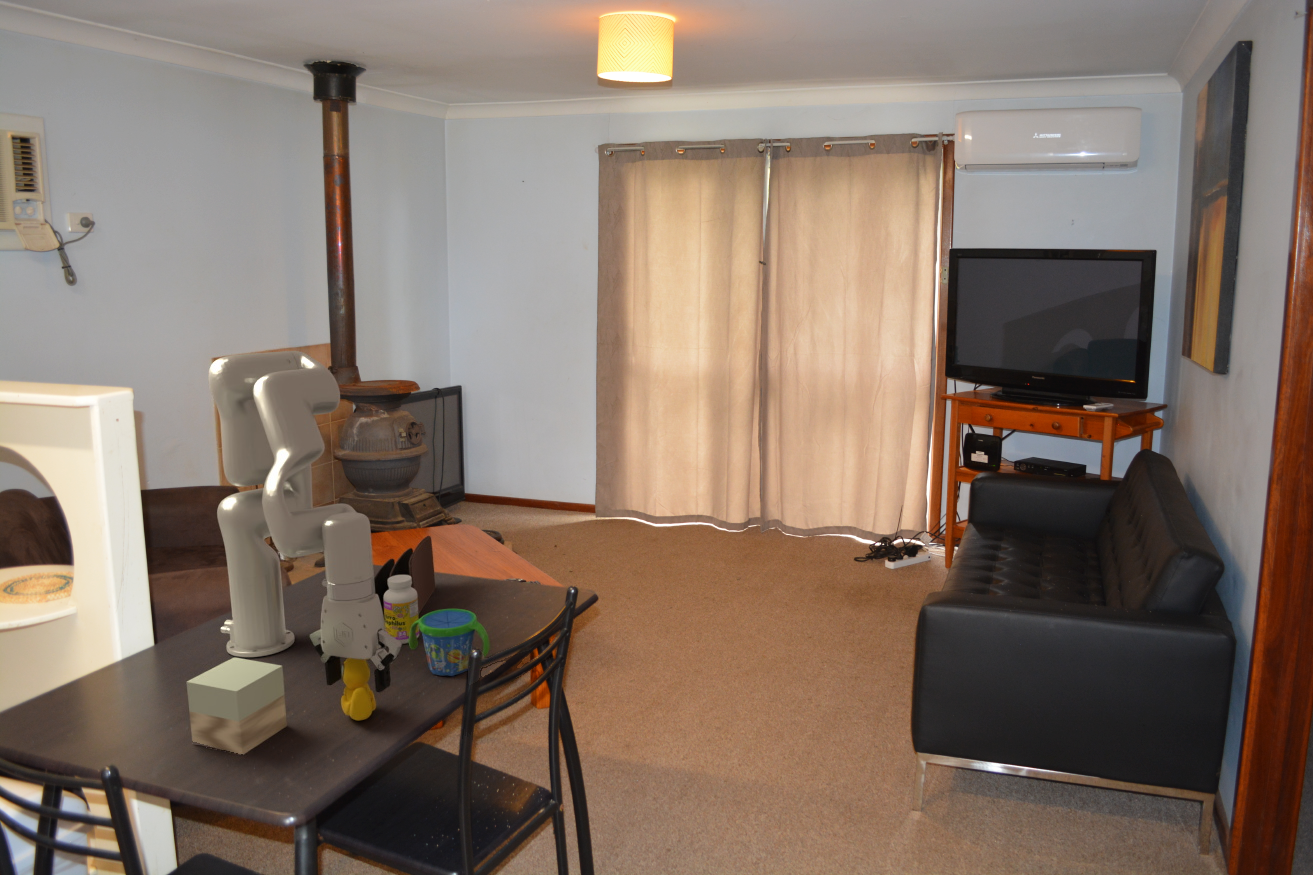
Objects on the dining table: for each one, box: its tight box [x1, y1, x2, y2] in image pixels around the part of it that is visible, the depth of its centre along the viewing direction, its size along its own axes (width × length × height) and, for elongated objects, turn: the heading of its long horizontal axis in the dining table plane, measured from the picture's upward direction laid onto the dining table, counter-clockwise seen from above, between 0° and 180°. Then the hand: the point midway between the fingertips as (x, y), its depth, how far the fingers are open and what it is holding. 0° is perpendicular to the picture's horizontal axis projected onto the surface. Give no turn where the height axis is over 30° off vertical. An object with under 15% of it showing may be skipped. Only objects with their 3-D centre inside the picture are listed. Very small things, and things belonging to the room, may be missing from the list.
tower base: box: [188, 694, 288, 755], centre depth 157 cm, size 10×10×6 cm
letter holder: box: [374, 535, 437, 621], centre depth 215 cm, size 10×20×14 cm, turn 1°
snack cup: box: [408, 608, 490, 677], centre depth 181 cm, size 16×10×10 cm
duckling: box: [340, 658, 377, 721], centre depth 163 cm, size 11×5×10 cm, turn 24°
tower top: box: [186, 656, 285, 721], centre depth 156 cm, size 10×10×5 cm
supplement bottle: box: [384, 575, 420, 645], centre depth 196 cm, size 7×7×13 cm
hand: (358, 685), depth 163 cm, fingers open, 9 cm apart
